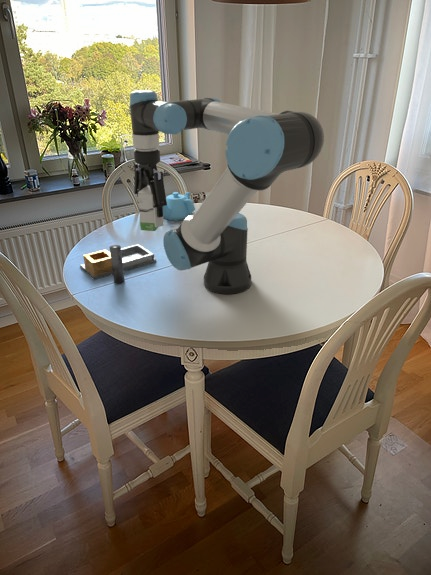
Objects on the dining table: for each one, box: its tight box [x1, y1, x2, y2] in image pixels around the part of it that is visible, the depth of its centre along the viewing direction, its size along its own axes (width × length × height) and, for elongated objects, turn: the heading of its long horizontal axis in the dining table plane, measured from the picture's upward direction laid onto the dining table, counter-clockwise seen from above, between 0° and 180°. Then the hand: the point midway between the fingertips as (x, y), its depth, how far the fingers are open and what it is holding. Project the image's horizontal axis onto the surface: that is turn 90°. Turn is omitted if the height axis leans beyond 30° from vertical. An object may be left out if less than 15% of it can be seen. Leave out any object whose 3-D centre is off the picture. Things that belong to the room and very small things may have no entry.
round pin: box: [109, 244, 126, 285], centre depth 141 cm, size 3×3×12 cm
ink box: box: [137, 185, 159, 232], centre depth 138 cm, size 9×5×12 cm, turn 169°
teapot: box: [163, 191, 196, 221], centre depth 197 cm, size 15×15×11 cm
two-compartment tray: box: [79, 243, 157, 281], centre depth 154 cm, size 12×23×5 cm, turn 126°
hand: (151, 221), depth 141 cm, fingers closed on ink box, 9 cm apart
